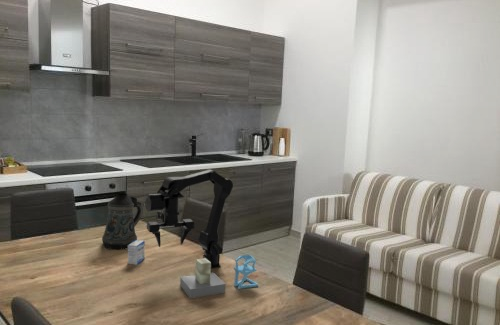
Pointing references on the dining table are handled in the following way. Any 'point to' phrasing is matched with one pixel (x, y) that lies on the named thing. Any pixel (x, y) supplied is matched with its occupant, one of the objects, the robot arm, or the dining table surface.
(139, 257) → the medicine box
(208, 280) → the sage block
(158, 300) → the dining table surface
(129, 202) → the beer stein
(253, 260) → the light blue lattice frame
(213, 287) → the grey block
